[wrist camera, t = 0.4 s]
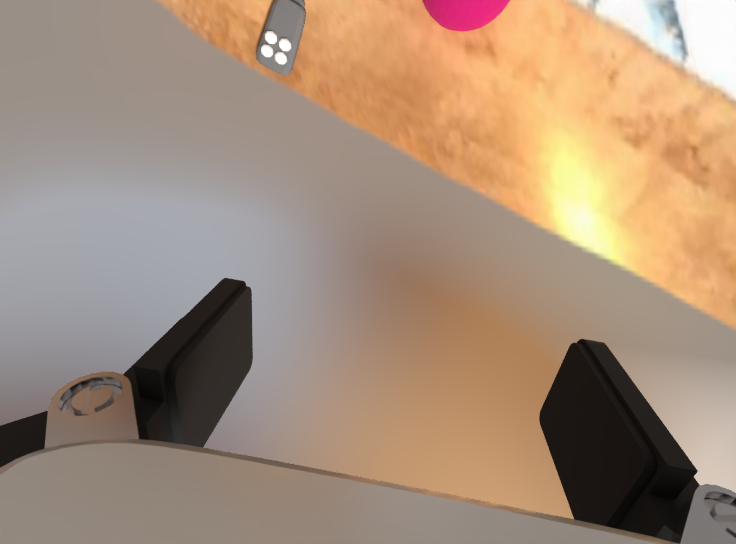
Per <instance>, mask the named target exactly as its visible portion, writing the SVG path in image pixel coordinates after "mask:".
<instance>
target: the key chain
mask: <svg viewBox="0 0 736 544" xmlns="http://www.w3.org/2000/svg"><path fill="white" fill-rule="evenodd" d="M304 6H305V3H304V1H303V0H275V2H274V4H273V6H272V9H271V12H270V15H269V18H268V21H267V23H266V26H265V29H264V32H263V35H262V38H261V41H260V44H259V46H258V49H257V57H256V59H257V60H258V62H259V63H260V64H262V65H264V66H266V67H267V68H269V69H271V70H273V71H275V72H277V73H279V74H281V75H289V74H290V73H291V71H292V69H293V65H294V62H295V58H296V54H297V50H298V47H299V43H300V39H301V35H302V31H303V27H304V24H305V17H306V12H305V10H304Z"/></svg>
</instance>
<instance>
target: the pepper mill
mask: <svg viewBox="0 0 736 544" xmlns="http://www.w3.org/2000/svg"><path fill="white" fill-rule="evenodd" d="M509 1H510V0H423V3H424V5H425V7H426V9H427V11H428V12H429V14H430V15H431V16H432V18H434V19H435V20H436V21H437V22H438V23H439V24H440V25H441V26H443V27H445V28H447V29H450V30H454V31H470V30H475V29H477V28H480V27H482V26H484V25H486V24H488V23H489V22H491V21H492V20H493V19H495V18H496V17H497V16H498V15H499V14H500V13H501V12H502V11H503V9H504V8H505V7H506V6H507V4H508V3H509Z"/></svg>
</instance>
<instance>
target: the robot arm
mask: <svg viewBox="0 0 736 544" xmlns="http://www.w3.org/2000/svg"><path fill="white" fill-rule="evenodd" d="M251 296H252V294H251V288H250V287H247V286H246V283H245V282H244V281H240V280H234V279H228V278H224V279H223V280H221V281H220V282H219V283H218V284H217V285H216V286H215V287H214V288H213V289H212V290H211V291H210V292H209V293H208V294H207V295H206V296H205V297H204V298H203V299H202V300H201V301H200V302H199V303H198V304H197V305H196V306H195V307H194V308H193V309H192V310H191V311H190V312H189V313H188V314H187V315H186V316H184V317H183V318H182V319H180V320H179V321H178V322H177V323H176V324H175V325H174V326H173V327H172V328H171V329H170V330H169V331H168V332H167V333H166V334H165V335H164V336H163V337H162V338H160V340H158V341H157V342H156V343H155V344H154V345H153V346H152V347H151V348H150V349H149V350H148V351H147V352H146V353H145V354H144V355H143V356H142V357H141V358H140V359H139V360H138V361H137V362H136V363H135V364H134V365H133V366H132V367H131V368H129V369H128V370H127V371H126V372H125V373H124V374H119V373H116V372H98V373H92V374H89V375H86V376H82V377H79V378H77V379H75V380H73V381H71V382H70V383H67V384H66V385H65V386H64V387H62V388H61V389H59V390H58V391H57V392H56V393H55V395H54V396H53V397H52V398H51V401H50V403H49V406H48V411H45V412H42V413H39V414H36V415H33V416H30V417H26V418H23V419H20V420H17V421H14V422H11V423H8V424H5V425H2V426H0V544H736V493H734V492H732V491H731V490H729V489H726V488H723V487H720V486H717V485H709V484H705V485H701V486H700V485H699V484H698V482H697V481H696V480H695V478H694V475H695V474H696V473H697V469H696V468H695V467H694V465H693V464H692V463H691V461H690V460H689V458H688V457H687V456H686V454H685V453H684V451H683V450H682V449H681V447H680V446H679V445H678V443H677V442H676V441H675V439H674V438H673V436H672V435H671V434H670V432H669V431H668V430H667V428H666V427H665V425H664V424H663V423H662V421H661V420H660V418H659V417H658V416H657V414H656V413H655V412H654V410H653V409H652V407H651V406H650V405H649V403H648V402H647V401H646V399H645V398H644V396H643V395H642V394H641V392H640V391H639V390H638V388H637V387H636V386H635V384H634V383H633V381H632V380H631V378H630V377H629V376H628V374H627V373H626V372H625V370H624V369H623V367H622V366H621V365H620V363H619V362H618V361H617V359H616V358H615V357H614V355H613V354H612V353H611V351H610V350H609V348H608V347H607V345H605V343H602V342H597V341H591V340H584V339H580V340H579V341H578V342H577V343H572V344H571V345H570V347H569V349H568V351H567V353H566V356H565V358H564V360H563V362H562V364H561V367H560V369H559V371H558V373H557V375H556V378H555V380H554V382H553V384H552V387H551V389H550V391H549V393H548V395H547V398H546V400H545V402H544V404H543V406H542V409H541V411H540V418H539V419H540V425H541V428H542V430H543V433H544V436H545V439H546V442H547V444H548V447H549V450H550V453H551V456H552V458H553V461H554V464H555V467H556V469H557V472H558V475H559V478H560V480H561V483H562V486H563V489H564V492H565V495H566V497H567V500H568V503H569V506H570V509H571V511H572V514H573V517H574V519H569V518H563V517H559V516H554V515H549V514H544V513H539V512H534V511H529V510H525V509H520V508H515V507H510V506H505V505H500V504H495V503H490V502H485V501H480V500H475V499H470V498H465V497H460V496H455V495H450V494H445V493H440V492H434V491H430V490H425V489H419V488H415V487H410V486H404V485H399V484H394V483H389V482H384V481H378V480H374V479H369V478H363V477H358V476H353V475H348V474H343V473H338V472H333V471H327V470H322V469H317V468H311V467H306V466H301V465H295V464H290V463H285V462H280V461H275V460H269V459H264V458H259V457H254V456H248V455H243V454H237V453H231V452H225V451H220V450H214V449H208V448H203V447H204V445H205V443H206V441H207V440H208V438H209V436H210V435H211V433H212V432H213V430H214V428H215V427H216V425H217V423H218V422H219V420H220V418H221V417H222V415H223V413H224V412H225V410H226V408H227V407H228V405H229V403H230V402H231V400H232V398H233V397H234V395H235V393H236V392H237V390H238V389H239V387H240V385H241V384H242V382H243V380H244V378H245V377H246V375H247V373H248V372H249V370H250V368H251V364H252V358H253V355H252V354H253V352H252V298H251Z"/></svg>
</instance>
